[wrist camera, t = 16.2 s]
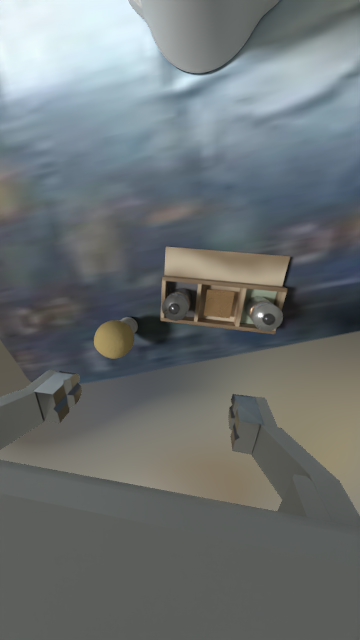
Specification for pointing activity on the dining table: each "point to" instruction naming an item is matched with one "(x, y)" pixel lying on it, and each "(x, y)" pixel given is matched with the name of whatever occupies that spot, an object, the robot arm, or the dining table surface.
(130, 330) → the light bulb
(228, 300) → the brown square tile
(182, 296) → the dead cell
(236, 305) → the wooden compartment tray
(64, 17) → the dining table surface
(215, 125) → the dining table surface
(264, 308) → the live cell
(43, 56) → the dining table surface
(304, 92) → the dining table surface
